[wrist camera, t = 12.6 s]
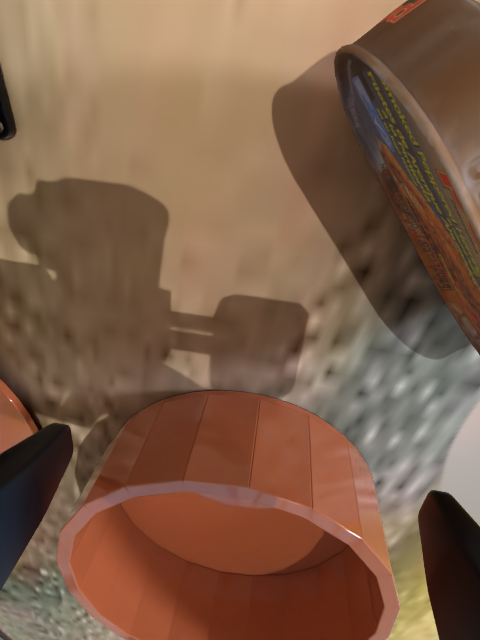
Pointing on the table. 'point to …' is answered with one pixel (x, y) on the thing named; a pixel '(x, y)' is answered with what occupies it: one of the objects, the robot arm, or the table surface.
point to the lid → (13, 419)
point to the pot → (230, 527)
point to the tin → (425, 135)
